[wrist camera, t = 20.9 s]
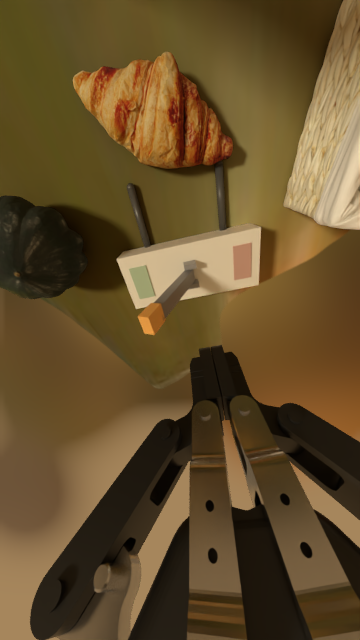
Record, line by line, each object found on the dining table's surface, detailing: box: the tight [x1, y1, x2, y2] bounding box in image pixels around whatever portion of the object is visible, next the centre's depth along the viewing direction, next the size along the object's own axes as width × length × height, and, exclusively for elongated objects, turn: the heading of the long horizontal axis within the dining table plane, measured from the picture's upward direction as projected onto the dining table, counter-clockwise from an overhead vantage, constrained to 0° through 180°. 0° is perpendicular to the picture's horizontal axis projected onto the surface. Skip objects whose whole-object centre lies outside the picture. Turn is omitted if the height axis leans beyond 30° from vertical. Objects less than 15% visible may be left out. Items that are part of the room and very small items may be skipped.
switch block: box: [116, 161, 261, 309], centre depth 31 cm, size 20×24×7 cm
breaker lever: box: [138, 269, 195, 335], centre depth 27 cm, size 3×2×14 cm, turn 12°
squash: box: [0, 196, 88, 299], centre depth 29 cm, size 14×15×15 cm
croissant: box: [73, 52, 233, 169], centre depth 24 cm, size 21×10×8 cm, turn 74°
